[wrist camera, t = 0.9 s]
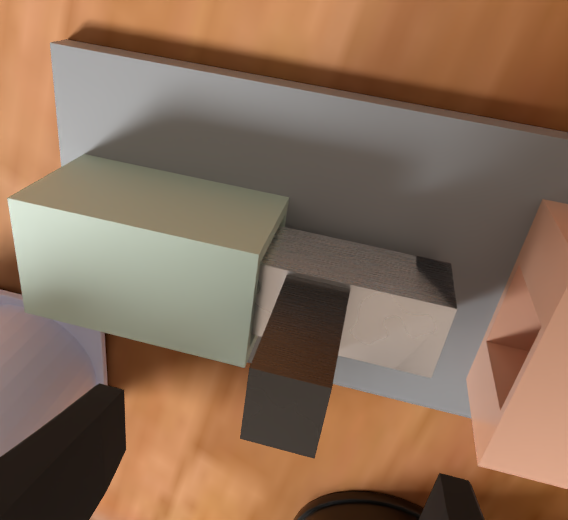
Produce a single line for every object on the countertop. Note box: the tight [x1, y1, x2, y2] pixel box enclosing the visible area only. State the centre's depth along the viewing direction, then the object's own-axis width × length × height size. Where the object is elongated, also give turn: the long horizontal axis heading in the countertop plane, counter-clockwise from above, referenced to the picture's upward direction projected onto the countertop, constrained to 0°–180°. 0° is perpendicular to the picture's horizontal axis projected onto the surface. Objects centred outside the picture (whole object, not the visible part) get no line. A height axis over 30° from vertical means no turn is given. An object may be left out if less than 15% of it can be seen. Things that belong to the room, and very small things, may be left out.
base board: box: [50, 39, 568, 418], centre depth 20 cm, size 22×12×1 cm, turn 83°
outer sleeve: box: [7, 154, 289, 368], centre depth 18 cm, size 8×4×4 cm, turn 83°
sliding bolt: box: [240, 226, 457, 458], centre depth 16 cm, size 14×3×7 cm, turn 83°
